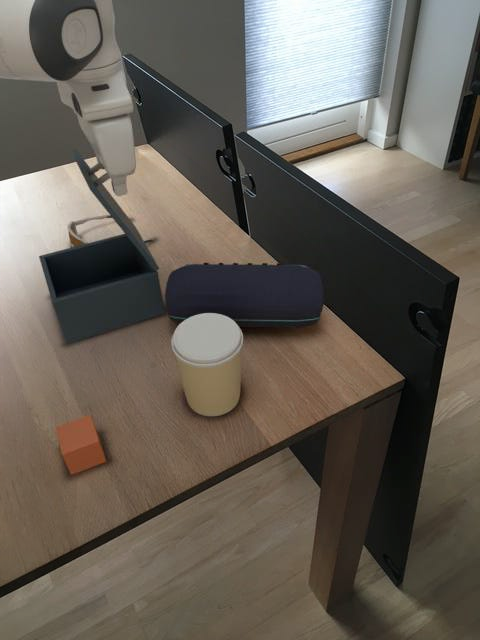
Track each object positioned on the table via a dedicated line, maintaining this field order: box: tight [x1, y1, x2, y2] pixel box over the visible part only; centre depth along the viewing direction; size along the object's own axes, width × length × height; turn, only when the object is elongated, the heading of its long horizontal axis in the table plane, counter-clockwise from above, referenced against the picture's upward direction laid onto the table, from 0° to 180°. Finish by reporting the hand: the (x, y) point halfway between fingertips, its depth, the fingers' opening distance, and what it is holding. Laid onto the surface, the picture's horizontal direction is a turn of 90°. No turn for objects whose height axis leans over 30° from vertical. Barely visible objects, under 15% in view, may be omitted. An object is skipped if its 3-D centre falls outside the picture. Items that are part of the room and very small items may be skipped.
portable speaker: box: [164, 262, 325, 328], centre depth 86 cm, size 25×10×10 cm, turn 86°
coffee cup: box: [170, 313, 244, 417], centre depth 73 cm, size 9×9×12 cm
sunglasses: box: [66, 214, 154, 248], centre depth 107 cm, size 14×15×5 cm
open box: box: [38, 233, 166, 345], centre depth 91 cm, size 17×14×9 cm
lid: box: [70, 148, 160, 272], centre depth 83 cm, size 17×14×5 cm
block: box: [55, 414, 107, 475], centre depth 69 cm, size 5×5×5 cm
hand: (112, 179), depth 80 cm, fingers open, 8 cm apart
